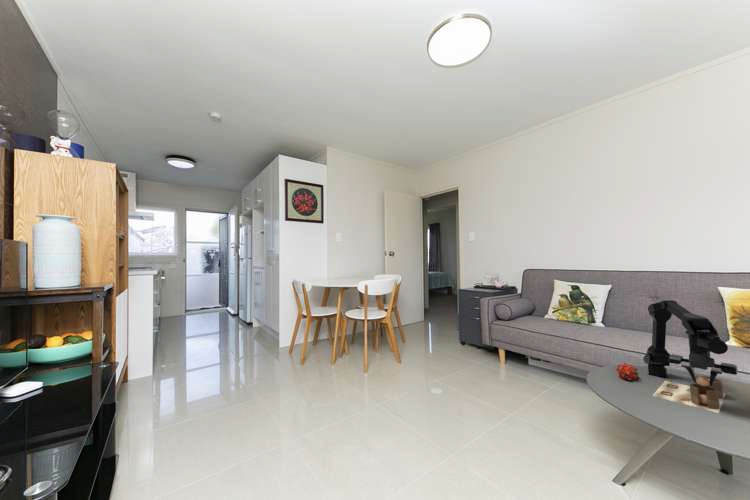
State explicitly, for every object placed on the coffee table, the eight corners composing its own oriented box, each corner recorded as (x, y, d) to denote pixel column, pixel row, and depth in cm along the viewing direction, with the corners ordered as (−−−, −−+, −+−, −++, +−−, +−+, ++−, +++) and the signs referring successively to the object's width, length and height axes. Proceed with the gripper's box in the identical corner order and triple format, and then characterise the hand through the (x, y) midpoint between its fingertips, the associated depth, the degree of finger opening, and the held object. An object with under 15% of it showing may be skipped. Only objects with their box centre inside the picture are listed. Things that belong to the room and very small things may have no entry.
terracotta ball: (696, 383, 120) (695, 373, 120) (711, 386, 117) (710, 376, 117) (695, 385, 118) (694, 376, 118) (709, 388, 114) (709, 379, 115)
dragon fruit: (630, 378, 149) (630, 389, 140) (612, 366, 153) (611, 376, 145) (642, 368, 145) (642, 379, 136) (623, 356, 150) (622, 366, 141)
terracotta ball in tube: (697, 404, 117) (696, 394, 117) (698, 401, 119) (697, 391, 120) (712, 407, 114) (711, 397, 114) (713, 404, 116) (712, 394, 116)
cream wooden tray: (652, 396, 125) (650, 379, 126) (665, 381, 140) (663, 366, 141) (718, 414, 110) (716, 394, 110) (725, 395, 125) (723, 378, 125)
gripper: (663, 345, 121) (667, 382, 120) (733, 356, 106) (737, 398, 105) (669, 341, 128) (672, 375, 127) (735, 350, 112) (739, 390, 111)
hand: (703, 384), depth 117 cm, fingers closed on terracotta ball, 4 cm apart
